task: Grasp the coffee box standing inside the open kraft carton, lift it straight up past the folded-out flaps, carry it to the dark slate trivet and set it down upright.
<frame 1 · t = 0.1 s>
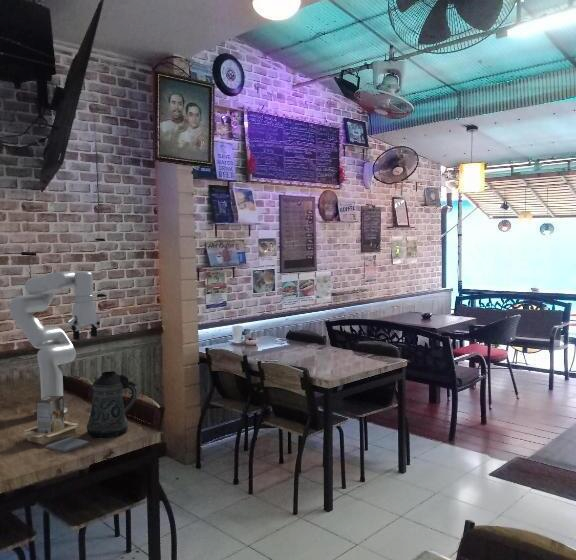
hand: (85, 338, 248), 37 cm above the table, tool pointing down, fingers open, 9 cm apart
trivet: (67, 445, 216), on the table
beer stein: (111, 432, 232), on the table
coffee box: (51, 437, 226), resting in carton
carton: (51, 437, 226), on the table
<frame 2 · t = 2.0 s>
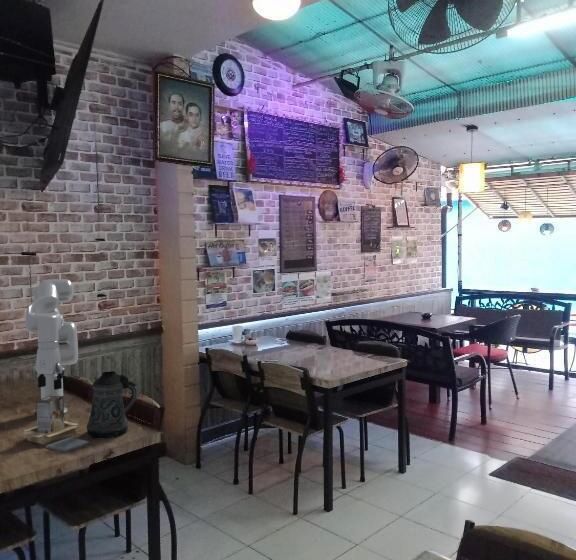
hand: (49, 387, 225), 20 cm above the table, tool pointing down, fingers open, 9 cm apart
nothing on the table moved.
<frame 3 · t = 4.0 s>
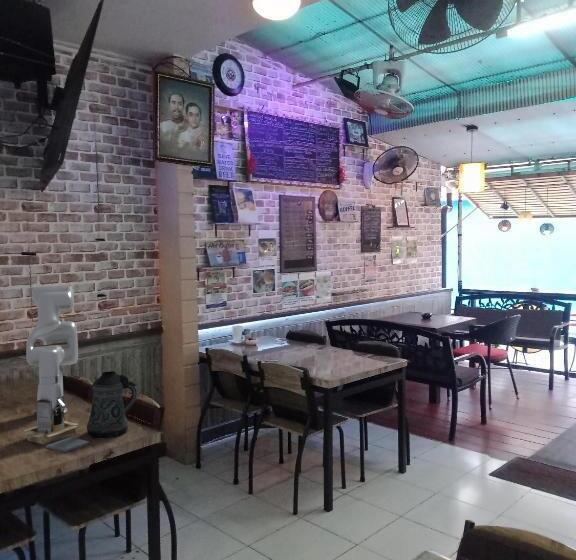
hand: (51, 422, 226), 6 cm above the table, tool pointing down, fingers closed on coffee box, 7 cm apart
coffee box: (51, 437, 226), resting in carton, touching gripper
everything else where it was.
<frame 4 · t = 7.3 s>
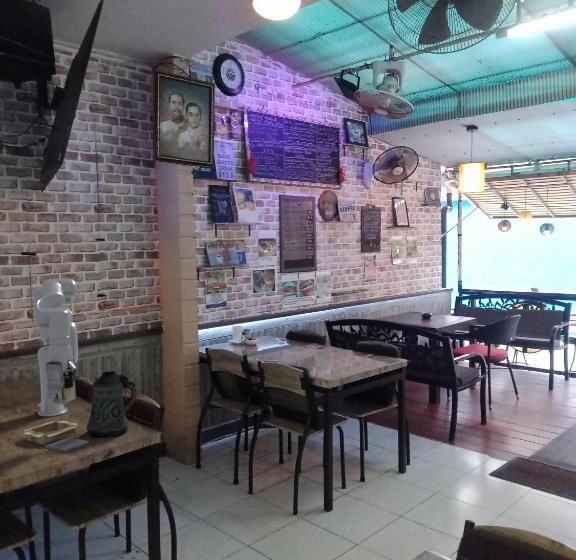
hand: (61, 386, 217), 22 cm above the table, tool pointing down, fingers closed on coffee box, 7 cm apart
coffee box: (62, 402, 218), point 16 cm above the table, touching gripper
everything else where it was.
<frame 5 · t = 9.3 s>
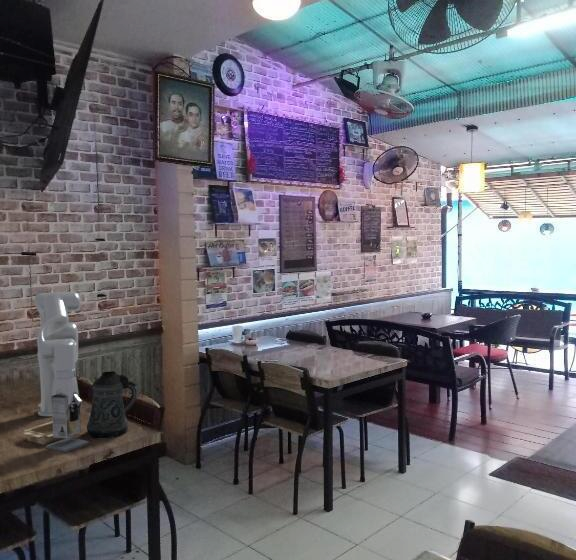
hand: (66, 419, 216), 10 cm above the table, tool pointing down, fingers closed on coffee box, 7 cm apart
coffee box: (67, 434, 216), point 4 cm above the table, touching gripper
everything else where it was.
when the fingers open (8 cm above the table, at t = 10.7 s): coffee box drops 1 cm, resting on trivet.
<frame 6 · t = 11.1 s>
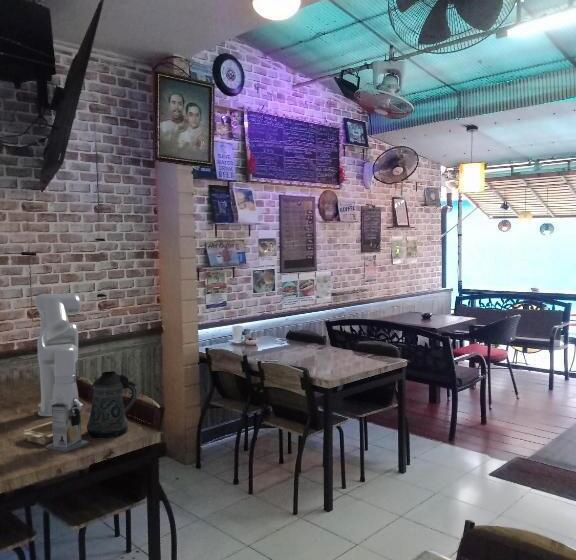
hand: (66, 423, 216), 9 cm above the table, tool pointing down, fingers open, 9 cm apart
coffee box: (67, 443, 216), point 1 cm above the table, touching trivet
everything else where it was.
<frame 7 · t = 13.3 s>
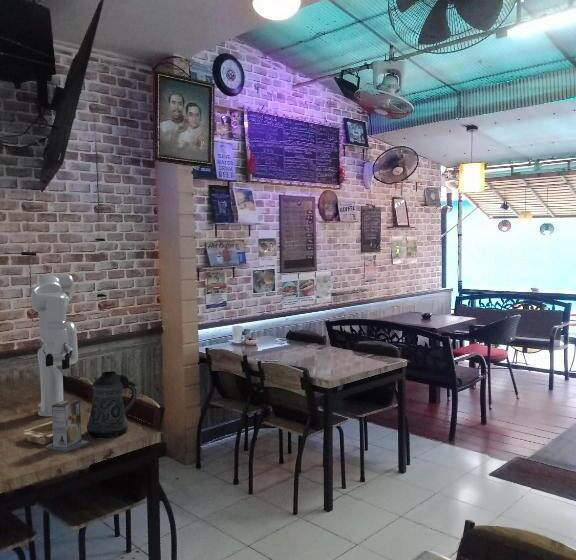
hand: (57, 367, 227), 28 cm above the table, tool pointing down, fingers open, 9 cm apart
nothing on the table moved.
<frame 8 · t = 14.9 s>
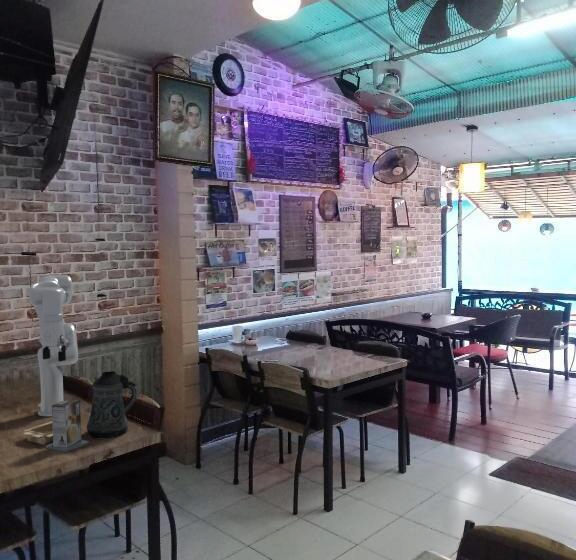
hand: (54, 359, 231), 30 cm above the table, tool pointing down, fingers open, 9 cm apart
nothing on the table moved.
at the end: coffee box inside the target area on the trivet (0.1 cm from its centre), point 0.6 cm above the trivet's base; coffee box tilted 0°; the gripper is holding nothing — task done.
